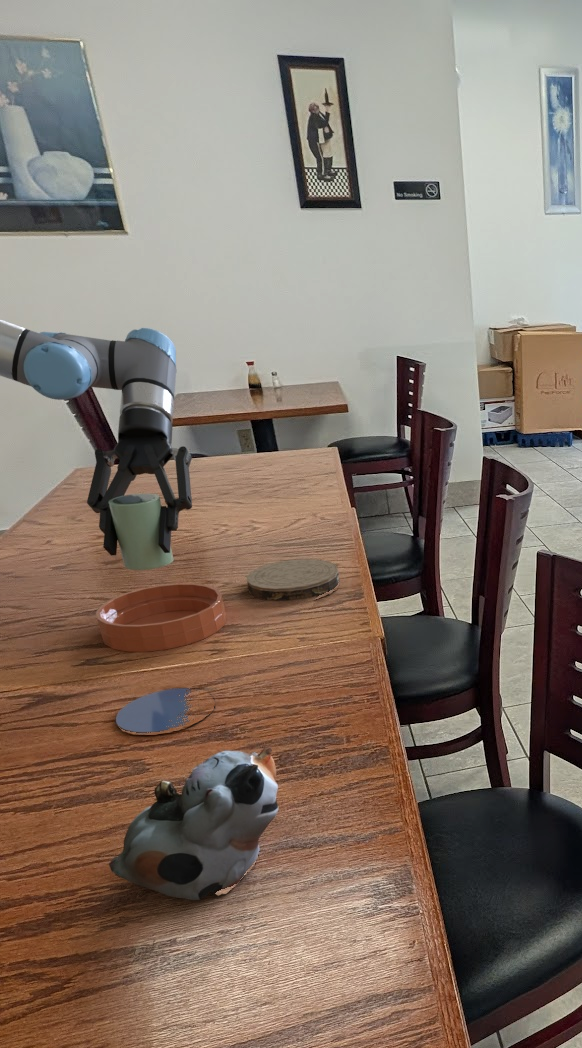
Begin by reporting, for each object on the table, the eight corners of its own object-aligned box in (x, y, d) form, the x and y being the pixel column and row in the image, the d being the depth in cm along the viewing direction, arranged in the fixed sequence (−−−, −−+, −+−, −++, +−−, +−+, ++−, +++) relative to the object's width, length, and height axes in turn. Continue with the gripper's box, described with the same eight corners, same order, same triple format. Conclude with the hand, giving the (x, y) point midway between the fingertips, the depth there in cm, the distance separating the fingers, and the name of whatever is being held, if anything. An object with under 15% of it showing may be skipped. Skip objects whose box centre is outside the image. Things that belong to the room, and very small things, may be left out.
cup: (115, 570, 124) (98, 504, 120) (139, 555, 130) (123, 492, 126) (160, 570, 124) (144, 505, 119) (181, 555, 130) (168, 493, 125)
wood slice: (243, 608, 141) (240, 592, 140) (255, 577, 155) (252, 562, 154) (338, 600, 144) (336, 584, 142) (341, 570, 158) (339, 556, 156)
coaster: (97, 735, 103) (96, 731, 103) (146, 690, 114) (145, 687, 114) (190, 737, 102) (189, 733, 102) (230, 692, 113) (229, 688, 113)
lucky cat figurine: (161, 822, 86) (204, 703, 84) (269, 864, 87) (315, 747, 85) (81, 883, 72) (132, 740, 70) (213, 932, 73) (266, 793, 71)
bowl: (79, 655, 124) (70, 625, 122) (141, 610, 141) (134, 583, 139) (196, 657, 123) (189, 626, 121) (245, 611, 140) (239, 583, 138)
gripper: (219, 432, 134) (214, 558, 127) (90, 436, 132) (78, 564, 125) (204, 403, 127) (198, 534, 120) (68, 407, 125) (53, 541, 118)
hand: (137, 549), depth 122 cm, fingers closed on cup, 7 cm apart
